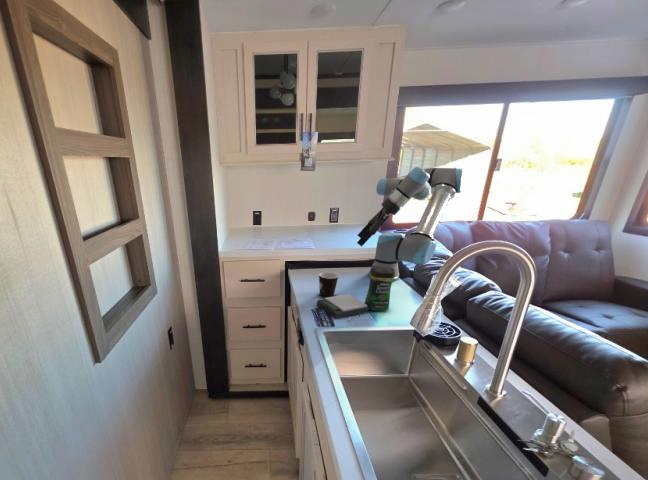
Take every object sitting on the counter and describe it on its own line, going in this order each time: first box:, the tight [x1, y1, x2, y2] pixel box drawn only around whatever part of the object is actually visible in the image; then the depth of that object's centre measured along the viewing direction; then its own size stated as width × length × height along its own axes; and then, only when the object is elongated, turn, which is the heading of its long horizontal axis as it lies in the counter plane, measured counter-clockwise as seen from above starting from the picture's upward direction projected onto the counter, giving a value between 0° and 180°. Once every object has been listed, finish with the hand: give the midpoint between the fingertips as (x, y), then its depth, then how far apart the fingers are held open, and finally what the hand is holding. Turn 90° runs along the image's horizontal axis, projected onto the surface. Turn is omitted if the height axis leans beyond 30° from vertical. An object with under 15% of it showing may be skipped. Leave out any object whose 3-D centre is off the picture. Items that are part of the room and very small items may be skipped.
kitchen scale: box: [316, 293, 370, 320], centre depth 133 cm, size 16×14×3 cm
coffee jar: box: [364, 265, 395, 312], centre depth 130 cm, size 10×8×19 cm
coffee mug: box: [318, 271, 339, 299], centre depth 146 cm, size 12×9×10 cm
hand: (359, 240), depth 145 cm, fingers open, 13 cm apart
